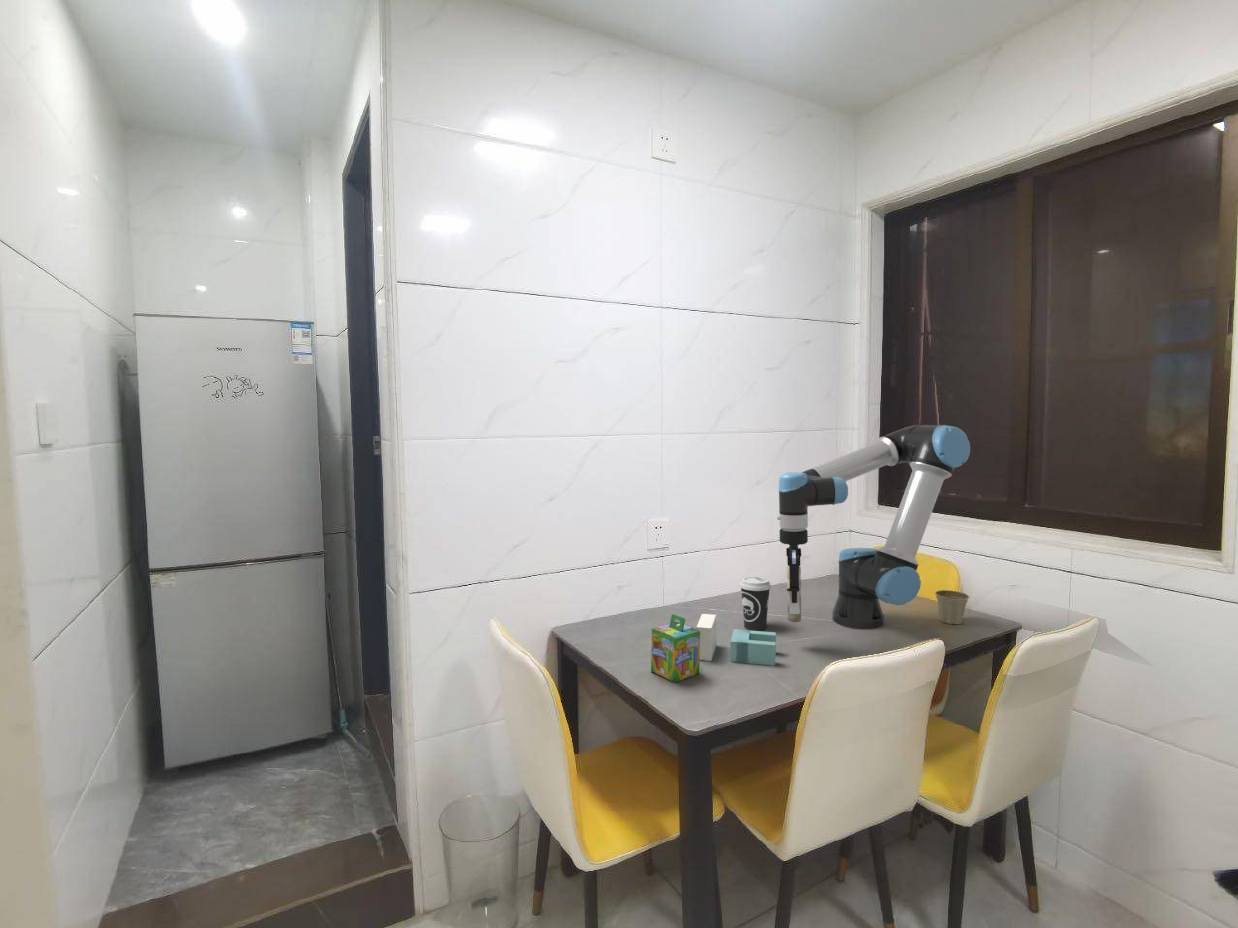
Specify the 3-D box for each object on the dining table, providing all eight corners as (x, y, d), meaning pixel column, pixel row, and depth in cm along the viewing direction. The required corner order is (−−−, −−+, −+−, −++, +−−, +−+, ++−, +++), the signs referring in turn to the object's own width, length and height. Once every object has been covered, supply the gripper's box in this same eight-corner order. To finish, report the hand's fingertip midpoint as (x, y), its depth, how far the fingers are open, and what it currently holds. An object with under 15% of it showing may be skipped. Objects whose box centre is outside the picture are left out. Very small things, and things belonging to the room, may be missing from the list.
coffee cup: (771, 633, 182) (772, 584, 181) (739, 631, 184) (739, 583, 183) (770, 622, 191) (770, 576, 190) (739, 621, 193) (739, 574, 192)
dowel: (801, 618, 172) (800, 566, 171) (801, 622, 168) (800, 569, 167) (787, 617, 173) (787, 565, 172) (787, 621, 169) (787, 569, 168)
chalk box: (650, 671, 157) (649, 616, 155) (676, 662, 162) (675, 608, 161) (675, 684, 149) (674, 625, 148) (701, 673, 155) (701, 617, 154)
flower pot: (970, 619, 191) (971, 593, 190) (966, 628, 183) (967, 600, 183) (937, 614, 197) (937, 588, 196) (931, 622, 189) (932, 595, 188)
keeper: (775, 651, 168) (775, 632, 168) (775, 665, 159) (775, 645, 159) (733, 648, 171) (733, 629, 171) (730, 661, 162) (730, 641, 162)
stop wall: (716, 645, 173) (716, 614, 173) (711, 660, 163) (711, 628, 162) (702, 644, 175) (701, 613, 174) (696, 659, 164) (696, 626, 163)
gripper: (779, 522, 177) (780, 600, 179) (779, 534, 161) (780, 620, 163) (806, 523, 175) (807, 602, 177) (808, 535, 159) (809, 621, 161)
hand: (794, 610), depth 170 cm, fingers closed on dowel, 3 cm apart
